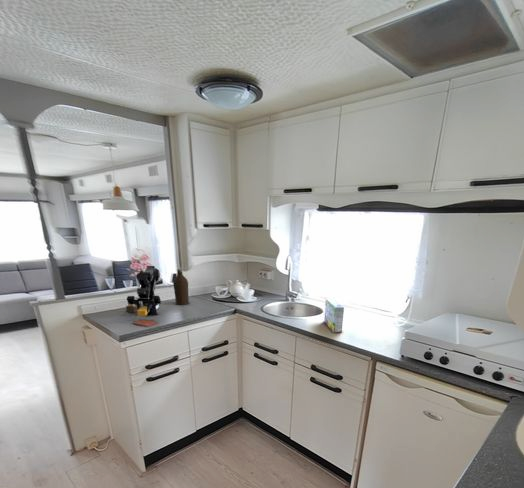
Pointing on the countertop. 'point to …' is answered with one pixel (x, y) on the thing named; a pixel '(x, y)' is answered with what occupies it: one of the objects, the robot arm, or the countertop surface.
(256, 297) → the countertop surface
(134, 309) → the tower
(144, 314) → the bar
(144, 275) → the robot arm
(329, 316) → the snack box
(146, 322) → the mat
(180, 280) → the olive oil
